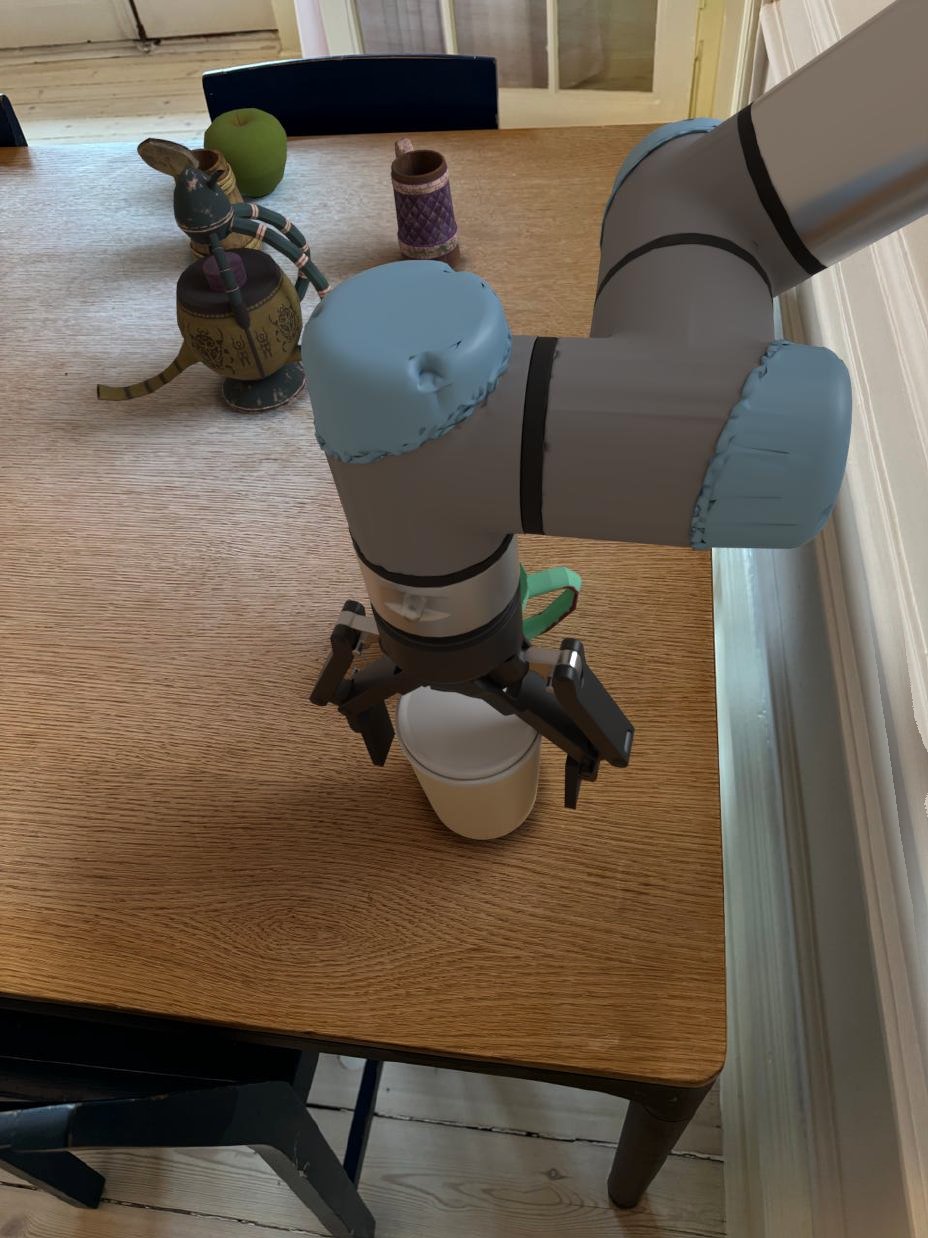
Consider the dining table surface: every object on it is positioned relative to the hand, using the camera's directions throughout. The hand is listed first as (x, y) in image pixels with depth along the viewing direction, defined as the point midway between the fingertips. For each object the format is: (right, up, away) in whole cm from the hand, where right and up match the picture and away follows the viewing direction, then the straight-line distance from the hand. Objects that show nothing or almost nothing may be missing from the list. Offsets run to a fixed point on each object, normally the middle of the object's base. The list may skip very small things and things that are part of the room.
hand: (476, 769), depth 59 cm
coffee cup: (+1, -2, +3) cm, 4 cm away
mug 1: (-5, +54, +43) cm, 69 cm away
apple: (-28, +68, +56) cm, 93 cm away
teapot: (-25, +34, +32) cm, 53 cm away
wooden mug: (-31, +55, +47) cm, 78 cm away
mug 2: (+3, +8, +10) cm, 13 cm away
